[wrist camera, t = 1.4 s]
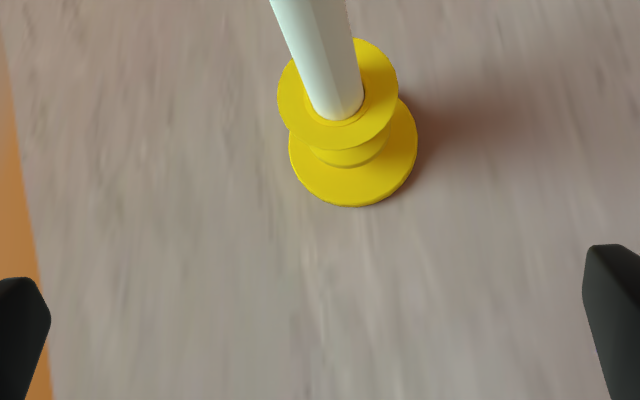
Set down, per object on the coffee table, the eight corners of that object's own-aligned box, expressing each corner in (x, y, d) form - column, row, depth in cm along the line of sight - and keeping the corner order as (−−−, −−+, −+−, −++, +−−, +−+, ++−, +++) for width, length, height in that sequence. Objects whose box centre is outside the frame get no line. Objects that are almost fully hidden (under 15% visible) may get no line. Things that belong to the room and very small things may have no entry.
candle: (382, 229, 22) (325, 13, 7) (268, 175, 23) (12, -108, 8) (439, 114, 23) (497, -304, 8) (325, 67, 24) (185, -372, 9)
